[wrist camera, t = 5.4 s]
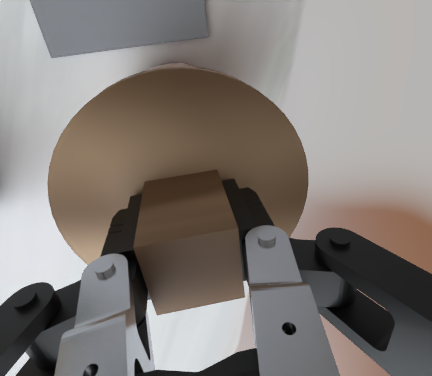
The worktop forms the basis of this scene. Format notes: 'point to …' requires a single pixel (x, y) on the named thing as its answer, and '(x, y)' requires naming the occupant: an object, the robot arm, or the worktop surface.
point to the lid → (176, 177)
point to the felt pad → (116, 23)
